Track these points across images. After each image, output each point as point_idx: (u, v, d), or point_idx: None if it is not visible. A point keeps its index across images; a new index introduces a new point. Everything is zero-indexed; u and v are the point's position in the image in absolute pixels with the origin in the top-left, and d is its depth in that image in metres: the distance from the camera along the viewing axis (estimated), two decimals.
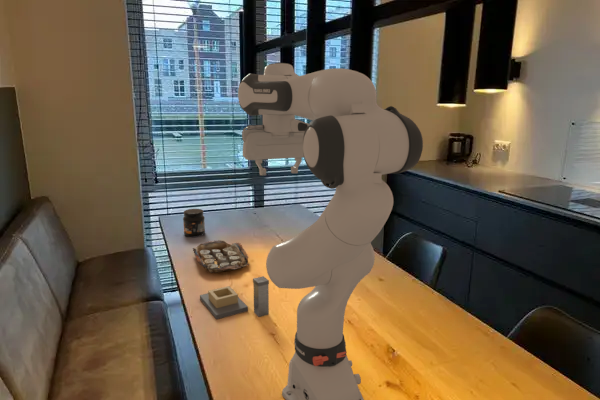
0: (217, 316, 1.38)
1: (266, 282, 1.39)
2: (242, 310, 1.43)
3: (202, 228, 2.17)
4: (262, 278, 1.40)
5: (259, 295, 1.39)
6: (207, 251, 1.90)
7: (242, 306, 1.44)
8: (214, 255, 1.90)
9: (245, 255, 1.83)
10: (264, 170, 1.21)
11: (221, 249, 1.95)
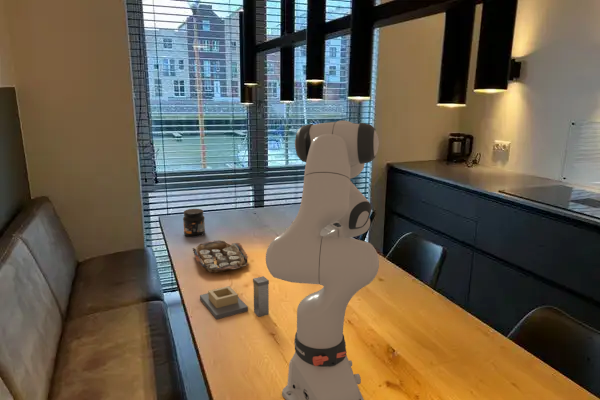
0: (217, 316, 1.38)
1: (266, 282, 1.39)
2: (242, 310, 1.43)
3: (202, 228, 2.17)
4: (262, 278, 1.40)
5: (259, 295, 1.39)
6: (207, 251, 1.91)
7: (242, 306, 1.44)
8: (214, 255, 1.90)
9: (245, 255, 1.83)
10: None
11: (221, 249, 1.95)
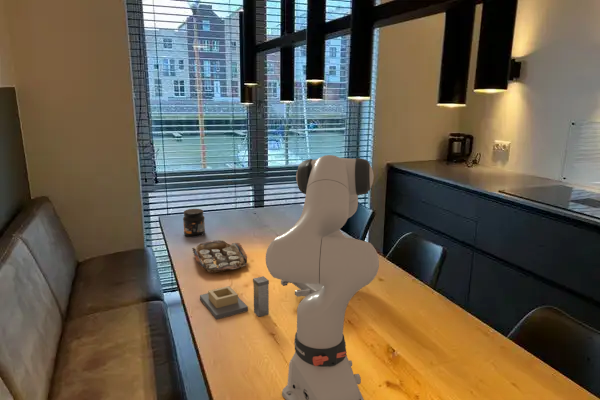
0: (217, 316, 1.38)
1: (266, 282, 1.39)
2: (242, 310, 1.43)
3: (202, 228, 2.17)
4: (262, 278, 1.40)
5: (259, 295, 1.39)
6: (207, 251, 1.91)
7: (242, 306, 1.44)
8: (213, 255, 1.90)
9: (244, 255, 1.83)
10: None
11: (221, 249, 1.95)
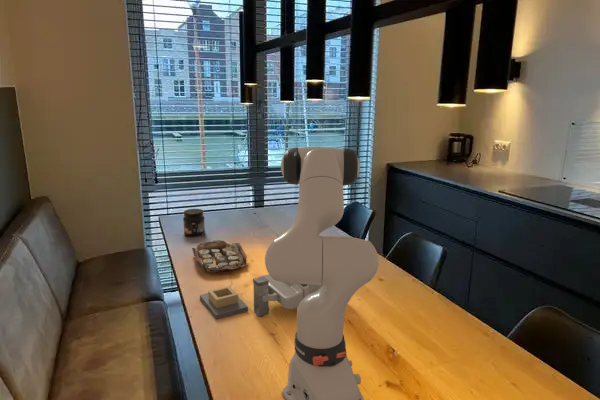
0: (217, 316, 1.38)
1: (266, 282, 1.39)
2: (242, 310, 1.43)
3: (202, 228, 2.17)
4: (262, 278, 1.40)
5: (259, 295, 1.39)
6: (206, 251, 1.91)
7: (242, 306, 1.44)
8: (213, 255, 1.90)
9: (244, 255, 1.83)
10: None
11: (220, 249, 1.95)
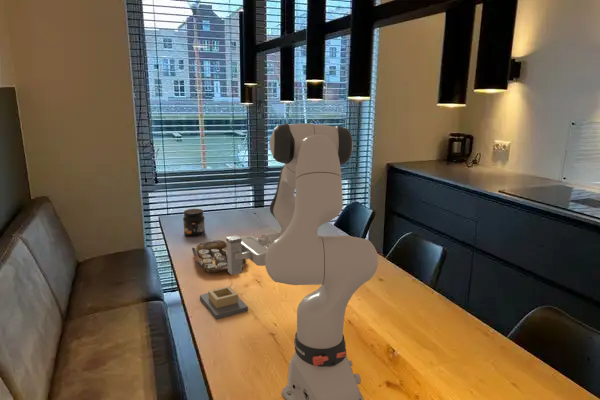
0: (217, 316, 1.38)
1: (239, 240, 1.40)
2: (242, 310, 1.43)
3: (202, 228, 2.17)
4: (235, 236, 1.41)
5: (232, 253, 1.39)
6: (206, 251, 1.91)
7: (242, 306, 1.44)
8: (213, 255, 1.90)
9: None
10: None
11: (220, 249, 1.95)
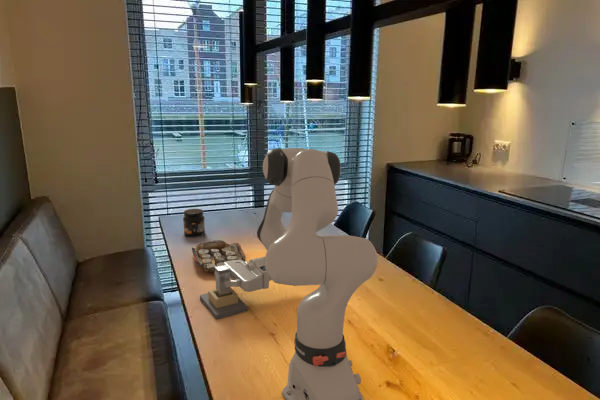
0: (217, 316, 1.38)
1: (227, 270, 1.44)
2: (242, 310, 1.43)
3: (202, 228, 2.17)
4: (224, 267, 1.45)
5: (220, 283, 1.43)
6: (206, 251, 1.91)
7: (242, 306, 1.44)
8: (213, 255, 1.90)
9: (243, 255, 1.83)
10: None
11: (220, 249, 1.95)
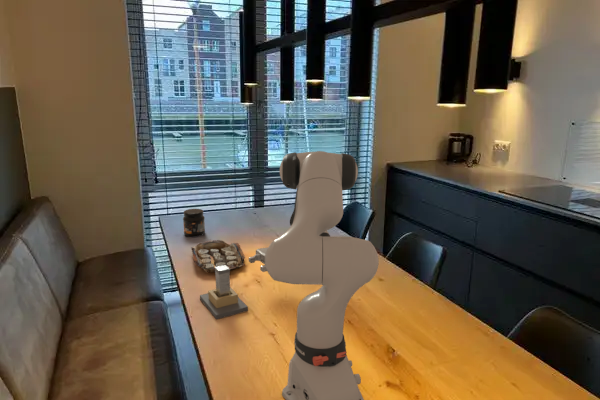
0: (217, 316, 1.38)
1: (227, 270, 1.44)
2: (242, 310, 1.43)
3: (202, 228, 2.17)
4: (224, 267, 1.45)
5: (220, 283, 1.43)
6: (205, 251, 1.91)
7: (242, 306, 1.44)
8: (212, 255, 1.91)
9: (242, 255, 1.83)
10: (252, 257, 1.55)
11: (220, 249, 1.95)
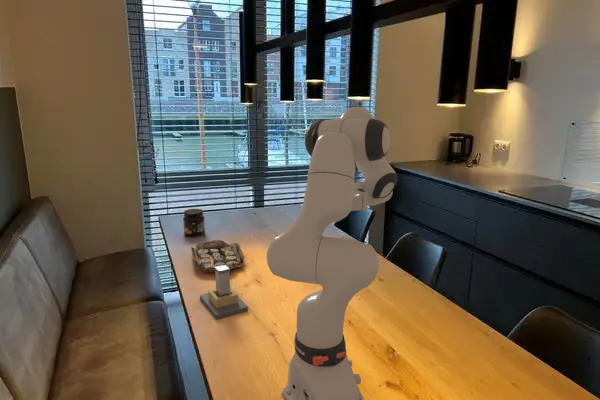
0: (217, 316, 1.38)
1: (227, 270, 1.44)
2: (242, 310, 1.43)
3: (202, 228, 2.17)
4: (224, 267, 1.45)
5: (220, 283, 1.43)
6: (205, 250, 1.91)
7: (242, 306, 1.44)
8: (212, 255, 1.91)
9: (241, 255, 1.83)
10: None
11: (220, 249, 1.95)
